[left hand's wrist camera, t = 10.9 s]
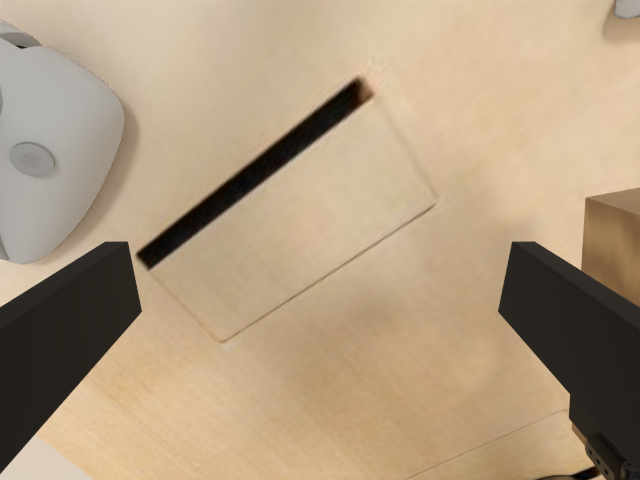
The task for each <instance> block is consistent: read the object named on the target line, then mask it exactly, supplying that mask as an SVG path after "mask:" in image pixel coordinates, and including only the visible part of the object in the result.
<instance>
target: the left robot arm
mask: <svg viewBox="0 0 640 480" xmlns="http://www.w3.org/2000/svg"><path fill="white" fill-rule="evenodd" d="M141 312H142V309H141V305H140V300H139V295H138V290H137V285H136V280H135V275H134V270H133V265H132V260H131V255H130V250H129V245H128V242H104V243H102V244H101V245H99V246H98V247H96V248H94V249H93V250H91V251H90V252H88V253H86V254H85V255H83V256H82V257H80V258H78V259H77V260H75V261H74V262H72V263H70V264H69V265H67V266H66V267H64V268H62V269H61V270H59V271H58V272H56V273H54V274H53V275H51V276H50V277H48V278H46V279H45V280H43V281H42V282H40V283H38V284H37V285H35V286H34V287H32V288H30V289H29V290H27V291H26V292H24V293H22V294H21V295H19V296H17V297H16V298H14V299H13V300H11V301H9V302H8V303H6V304H5V305H3V306H1V307H0V474H1V473H2V471H3V470H4V469H5V468H6V467H7V466H8V464H9V463H10V462H11V461H12V460H13V459H14V458H15V456H16V455H17V454H18V453H19V452H20V451H21V450H22V448H23V447H24V446H25V445H26V444H27V443H28V442H29V440H30V439H31V438H32V437H33V436H34V435H35V434H36V432H37V431H38V430H39V429H40V428H41V427H42V426H43V424H44V423H45V422H46V421H47V420H48V419H49V418H50V416H51V415H52V414H53V413H54V412H55V411H56V410H57V408H58V407H59V406H60V405H61V404H62V403H63V401H64V400H65V399H66V398H67V397H68V396H69V395H70V393H71V392H72V391H73V390H74V389H75V388H76V387H77V385H78V384H79V383H80V382H81V381H82V380H83V379H84V377H85V376H86V375H87V374H88V373H89V372H90V371H91V369H92V368H93V367H94V366H95V365H96V364H97V363H98V361H99V360H100V359H101V358H102V357H103V356H104V354H105V353H106V352H107V351H108V350H109V349H110V348H111V346H112V345H113V344H114V343H115V342H116V341H117V340H118V338H119V337H120V336H121V335H122V334H123V333H124V332H125V330H126V329H127V328H128V327H129V326H130V325H131V324H132V322H133V321H134V320H135V319H136V318H137V317H138V316H139V314H140V313H141ZM498 312H499V313H500V314H501V316H502V317H503V318H504V319H505V320H506V321H507V322H508V324H509V325H510V326H511V327H512V328H513V329H514V330H515V332H516V333H517V334H518V335H519V336H520V337H521V338H522V340H523V341H524V342H525V343H526V344H527V345H528V346H529V348H530V349H531V350H532V351H533V352H534V353H535V355H536V356H537V357H538V358H539V359H540V360H541V361H542V363H543V364H544V365H545V366H546V367H547V368H548V369H549V371H550V372H551V373H552V374H553V375H554V376H555V377H556V379H557V380H558V381H559V382H560V383H561V384H562V385H563V387H564V388H565V389H566V390H567V391H568V392H569V393H570V395H571V396H572V397H573V398H574V399H575V400H576V401H577V403H578V404H579V405H580V406H581V407H582V408H583V410H584V411H585V412H586V413H587V414H588V415H589V416H590V418H591V419H592V420H593V421H594V422H595V423H596V424H597V426H598V427H599V428H600V429H601V430H602V431H603V432H604V434H605V435H606V436H607V437H608V438H609V439H610V440H611V442H612V443H613V444H614V445H615V446H616V447H617V448H618V450H619V451H620V452H621V453H622V454H623V455H624V456H625V458H626V459H627V460H628V461H629V462H630V463H631V465H632V466H633V467H634V468H635V469H636V470H637V471H638V473H639V474H640V307H639V306H637V305H635V304H634V303H632V302H631V301H629V300H627V299H626V298H624V297H622V296H621V295H619V294H618V293H616V292H614V291H613V290H611V289H610V288H608V287H606V286H605V285H603V284H602V283H600V282H598V281H597V280H595V279H594V278H592V277H590V276H589V275H587V274H586V273H584V272H582V271H581V270H579V269H578V268H576V267H574V266H573V265H571V264H570V263H568V262H566V261H565V260H563V259H562V258H560V257H558V256H557V255H555V254H554V253H552V252H550V251H549V250H547V249H546V248H544V247H542V246H541V245H539V244H538V243H536V242H512V245H511V250H510V255H509V260H508V265H507V270H506V275H505V280H504V285H503V290H502V295H501V300H500V305H499V309H498Z"/></svg>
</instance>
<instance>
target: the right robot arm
mask: <svg viewBox="0 0 640 480" xmlns="http://www.w3.org/2000/svg"><path fill="white" fill-rule="evenodd" d="M569 419H570V420H571V421H572V422H573V424H574V425H575V426H576V427H577V429H578V430H579V431H580V432H581V434H582V435H583V436H584V437H585V438H586V441H585V450H586V454H587V455H588V457H589V458H590V459H591V461H592V462H593V463H594V464H595V466H596V467H597V468H598V470H599V471H600V472H601V473H602V475H603V476H604V477H605V479H606V480H640V474H639V473H638V471H637V470H636V469H635V468H634V467H633V466H632V465H631V463H630V462H629V461H628V460H627V459H626V458H625V456H624V455H623V454H622V453H621V452H620V451H619V450H618V448H617V447H616V446H615V445H614V444H613V443H612V442H611V440H610V439H609V438H608V437H607V436H606V435H605V434H604V432H603V431H602V430H601V429H600V428H599V427H598V426H597V424H596V423H595V422H594V421H593V420H592V419H591V418H590V416H589V415H588V414H587V413H586V412H585V411H584V410H583V408H582V407H581V406H580V405H579V404H578V403H577V401H576V400H575V399H574V398H573V397H572V396H571V395H570V408H569ZM542 480H584V479H581V478H577V477H569V476H558V477H550V478H546V479H542Z"/></svg>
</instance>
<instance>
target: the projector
mask: <svg viewBox="0 0 640 480" xmlns="http://www.w3.org/2000/svg"><path fill="white" fill-rule="evenodd" d="M124 124H125V113H124V109H123V105H122V103H121V101H120V100H119V98H118V96H117V95H116V94H115V92H114V91H113V90H112V89H111V88H110V87H109V86H108V85H107V84H106V83H105V82H104V81H102V80H101V79H100V78H98V77H97V76H96V75H95V74H93V73H92V72H90V71H89V70H87V69H86V68H84V67H83V66H81V65H80V64H78V63H77V62H75V61H73V60H72V59H70V58H68V57H67V56H65V55H63V54H62V53H60V52H58V51H56V50H55V49H52V48H49V47H44V46H41V44H40V43H39V42H38V41H37V40H36V39H35V38H34V37H32V36H30V35H29V34H27V33H25V32H23V31H21V30H20V29H18V28H16V27H14V26H12V25H10V24H8V23H7V22H4V21H2V20H0V259H3V260H7V261H10V262H13V263H17V264H29V263H32V262H34V261H37V260H39V259H41V258H43V257H44V256H46V255H47V254H49V253H50V252H51V251H53V250H54V249H55V248H56V247H57V246H58V245H59V244H60V243H61V242H62V241H64V239H65V238H66V237H67V236H68V235H69V234H70V233H71V232H72V231H73V230H74V228H75V227H76V226H77V225H78V223H79V222H80V221H81V219H82V218H83V217H84V215H85V214H86V213H87V211H88V209H89V208H90V206H91V205H92V203H93V201H94V200H95V198H96V196H97V195H98V193H99V191H100V189H101V187H102V185H103V183H104V181H105V179H106V177H107V175H108V173H109V170H110V168H111V166H112V163H113V161H114V158H115V156H116V153H117V151H118V148H119V145H120V142H121V138H122V134H123V130H124Z"/></svg>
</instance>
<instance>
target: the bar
mask: <svg viewBox="0 0 640 480" xmlns="http://www.w3.org/2000/svg"><path fill="white" fill-rule="evenodd" d="M581 271H582V272H584V273H586V274H587V275H589V276H590V277H592V278H594V279H595V280H597V281H598V282H600V283H602V284H603V285H605V286H606V287H608V288H610V289H611V290H613V291H614V292H616V293H618V294H619V295H621V296H622V297H624V298H626V299H627V300H629V301H631V302H632V303H634V304H635V305H637V306H639V307H640V188H635V189H630V190H624V191H619V192H614V193H608V194H603V195H597V196H592V197H587V198H586V199H585V216H584V232H583V249H582V266H581ZM572 430H573V431H574V433H575V434H576V435H577V436H578V438H579V439H580V440H581V441H582V443H583V444H584V445H585V441H586V438H585V437H584V436H583V435H582V434H581V432H580V431H579V430H578V429H577V427H576V426H575V425H574V424H573V422H572Z"/></svg>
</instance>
